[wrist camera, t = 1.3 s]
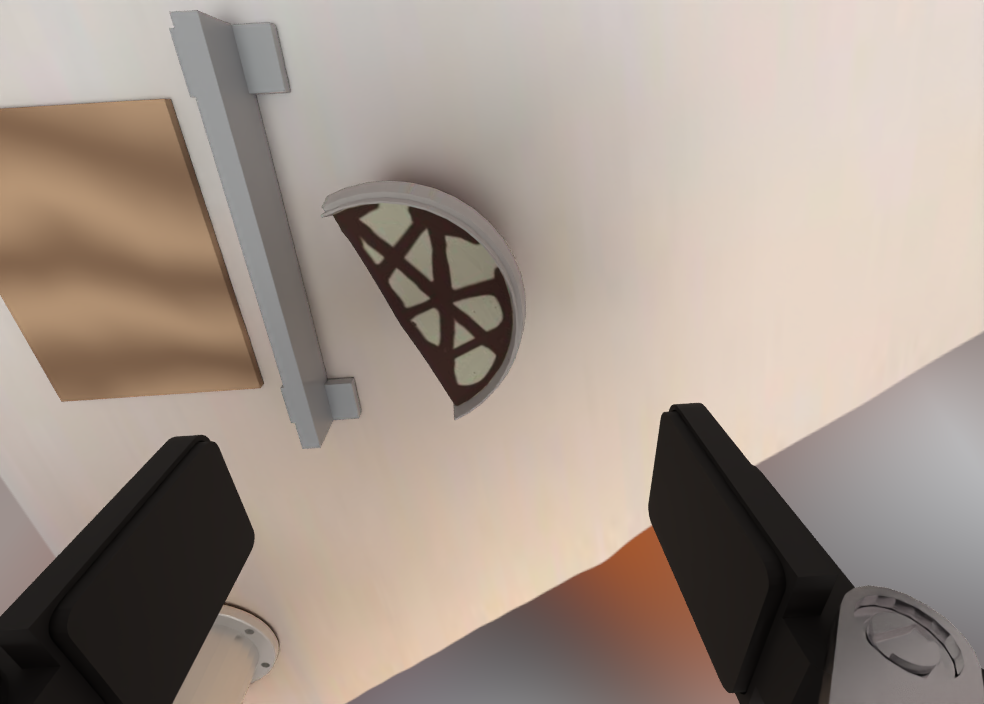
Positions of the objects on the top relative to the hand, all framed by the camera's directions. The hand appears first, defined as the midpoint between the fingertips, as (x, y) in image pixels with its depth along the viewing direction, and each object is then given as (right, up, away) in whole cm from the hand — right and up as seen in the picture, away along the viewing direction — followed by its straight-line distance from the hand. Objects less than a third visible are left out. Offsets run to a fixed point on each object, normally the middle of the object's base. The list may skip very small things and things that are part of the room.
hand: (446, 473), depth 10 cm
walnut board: (-23, +8, +19) cm, 31 cm away
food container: (-1, +9, +19) cm, 22 cm away
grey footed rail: (-12, +9, +19) cm, 24 cm away
